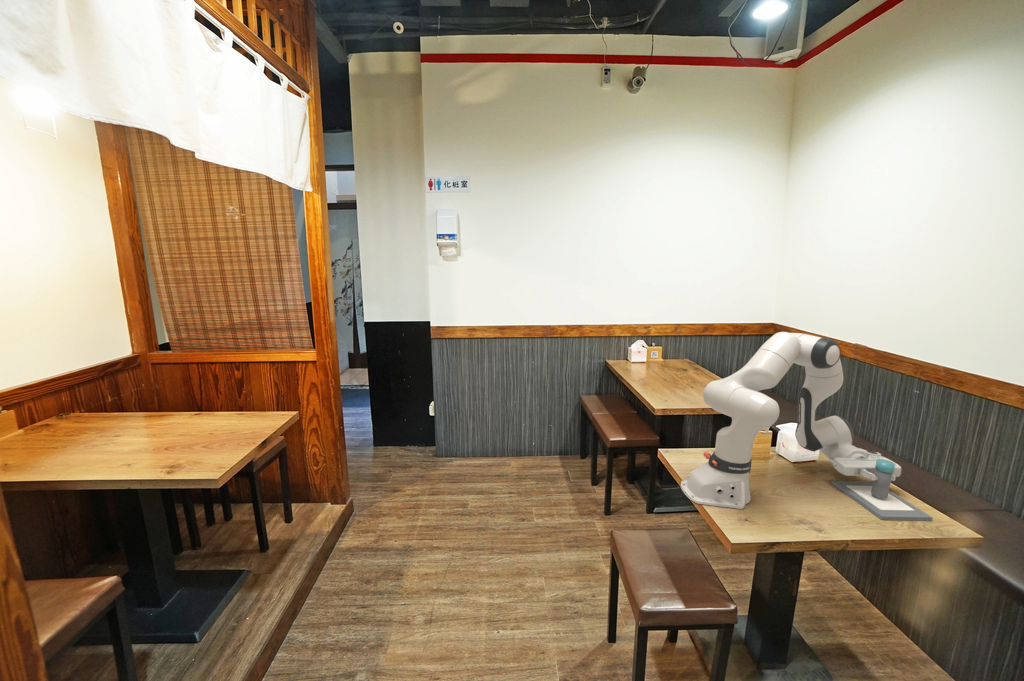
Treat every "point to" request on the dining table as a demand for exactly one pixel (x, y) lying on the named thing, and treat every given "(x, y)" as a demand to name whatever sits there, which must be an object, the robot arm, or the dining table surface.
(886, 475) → the marker
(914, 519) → the writing board
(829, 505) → the dining table surface
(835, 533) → the dining table surface
